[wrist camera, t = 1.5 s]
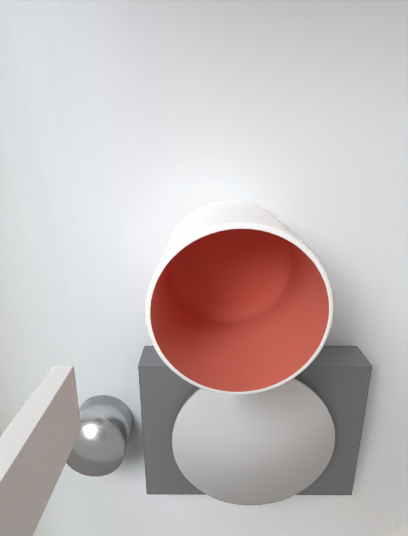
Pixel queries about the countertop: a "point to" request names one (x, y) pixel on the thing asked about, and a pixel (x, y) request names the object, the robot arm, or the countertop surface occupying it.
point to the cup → (237, 300)
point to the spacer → (101, 436)
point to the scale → (255, 432)
